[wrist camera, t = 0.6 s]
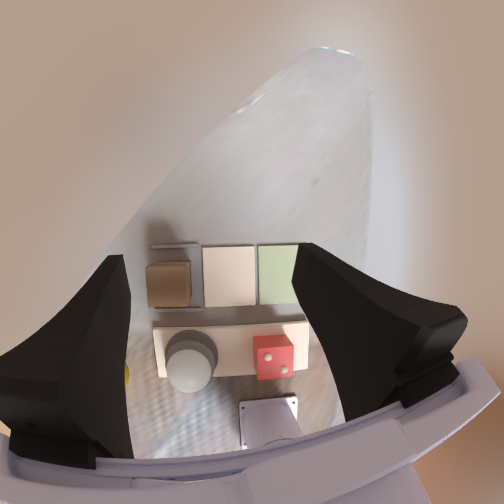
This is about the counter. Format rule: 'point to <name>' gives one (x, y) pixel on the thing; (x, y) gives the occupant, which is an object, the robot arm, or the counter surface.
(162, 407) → the counter surface
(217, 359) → the game board
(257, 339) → the die
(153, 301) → the brown block
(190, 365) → the dome
